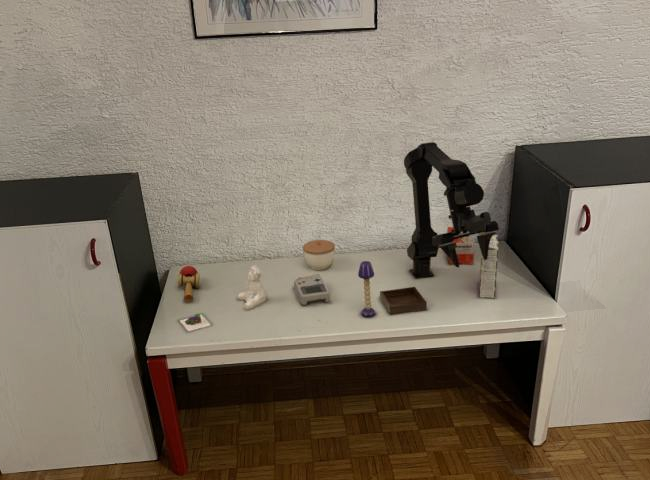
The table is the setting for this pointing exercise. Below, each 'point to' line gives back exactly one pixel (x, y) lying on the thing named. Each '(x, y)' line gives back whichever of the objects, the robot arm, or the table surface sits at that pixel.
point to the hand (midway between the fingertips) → (471, 263)
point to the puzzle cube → (195, 322)
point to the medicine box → (463, 248)
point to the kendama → (188, 281)
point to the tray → (403, 300)
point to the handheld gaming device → (311, 289)
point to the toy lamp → (366, 287)
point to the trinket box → (319, 254)
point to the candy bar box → (489, 270)
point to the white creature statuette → (253, 289)
